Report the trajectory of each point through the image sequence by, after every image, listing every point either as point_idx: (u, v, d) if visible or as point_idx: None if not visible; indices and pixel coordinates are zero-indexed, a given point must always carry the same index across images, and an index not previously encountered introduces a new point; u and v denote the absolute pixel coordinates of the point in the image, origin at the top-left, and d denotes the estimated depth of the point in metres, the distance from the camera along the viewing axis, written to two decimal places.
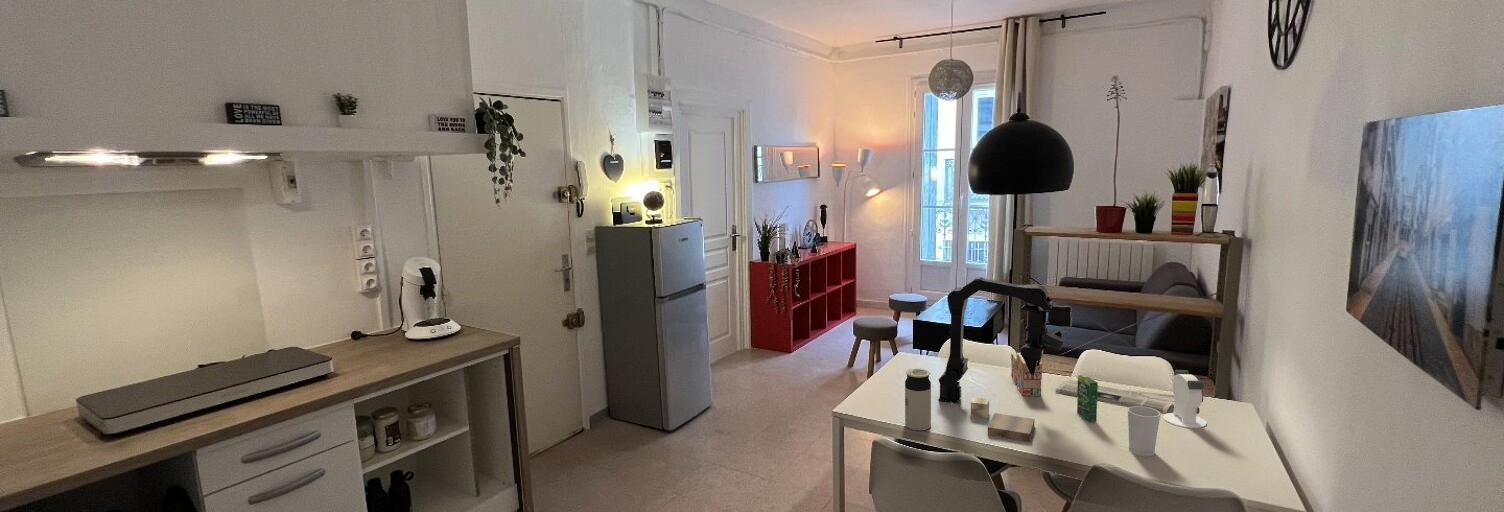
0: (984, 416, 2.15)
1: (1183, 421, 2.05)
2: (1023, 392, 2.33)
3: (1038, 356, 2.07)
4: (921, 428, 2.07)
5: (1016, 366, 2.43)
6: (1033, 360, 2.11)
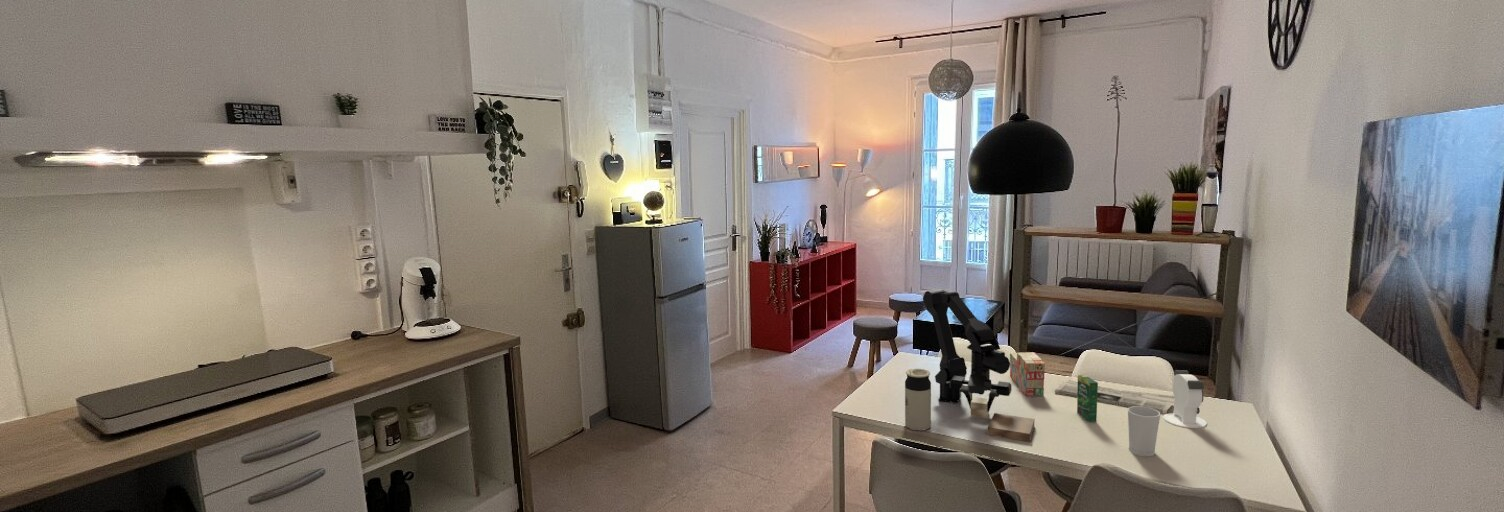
0: (984, 416, 2.15)
1: (1183, 421, 2.05)
2: (1026, 392, 2.33)
3: (949, 386, 2.19)
4: (921, 428, 2.07)
5: (1017, 366, 2.43)
6: None
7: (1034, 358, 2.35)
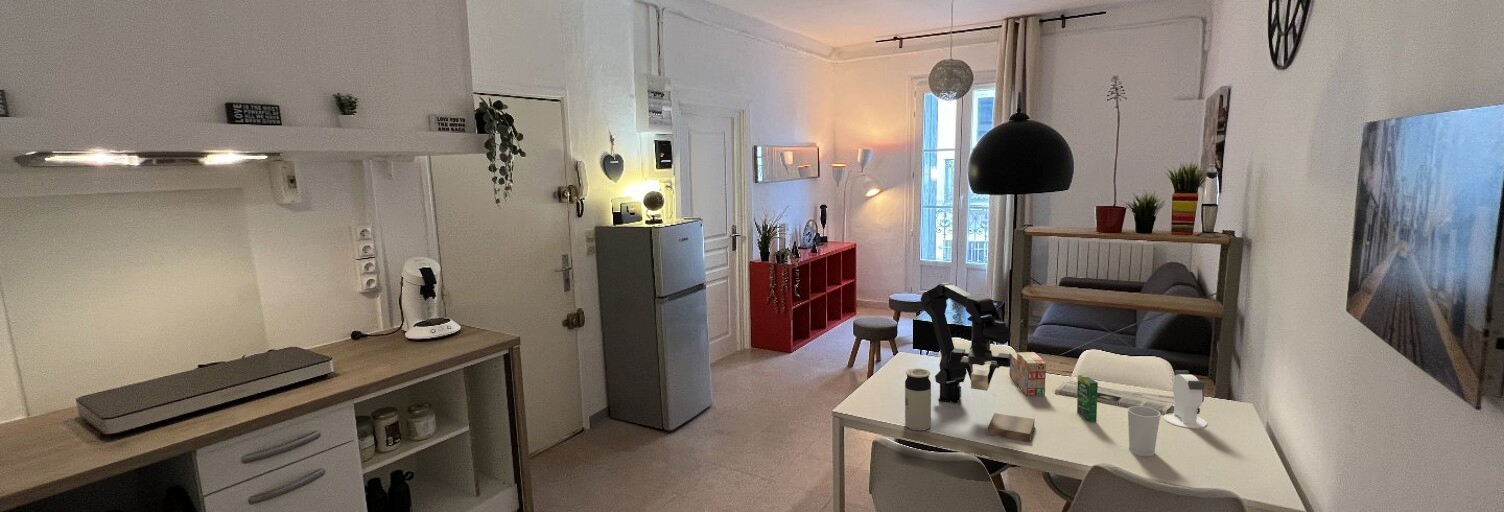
0: (985, 388, 2.13)
1: (1183, 421, 2.04)
2: (1027, 392, 2.33)
3: (949, 358, 2.18)
4: (921, 428, 2.07)
5: (1017, 366, 2.43)
6: None
7: (1035, 358, 2.35)
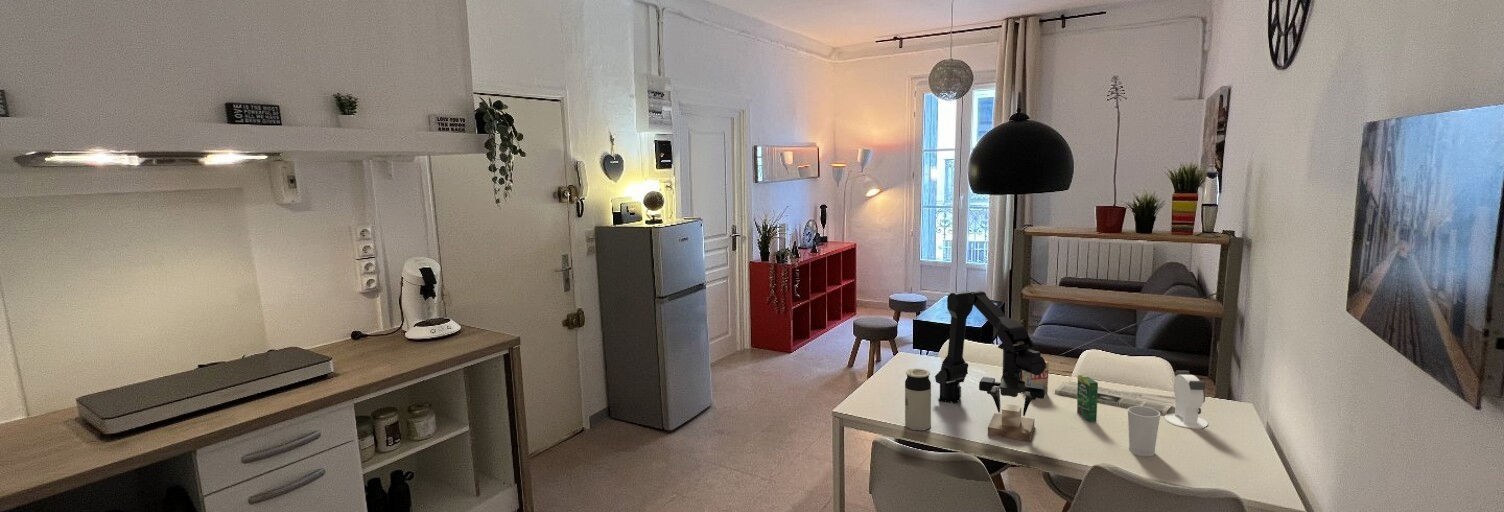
0: (1016, 424, 2.02)
1: (1184, 422, 2.04)
2: None
3: (979, 388, 2.06)
4: (921, 428, 2.07)
5: None
6: None
7: None
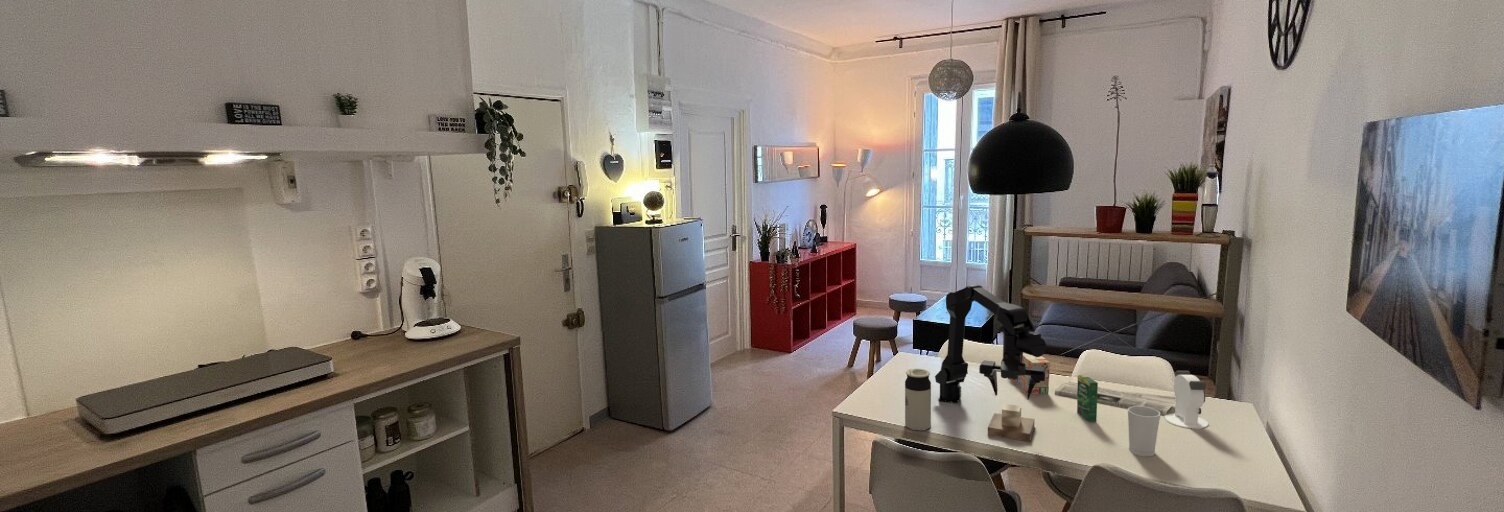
0: (1016, 424, 2.02)
1: (1185, 422, 2.04)
2: (1032, 391, 2.33)
3: (979, 371, 2.05)
4: (921, 428, 2.07)
5: None
6: None
7: (1037, 357, 2.36)
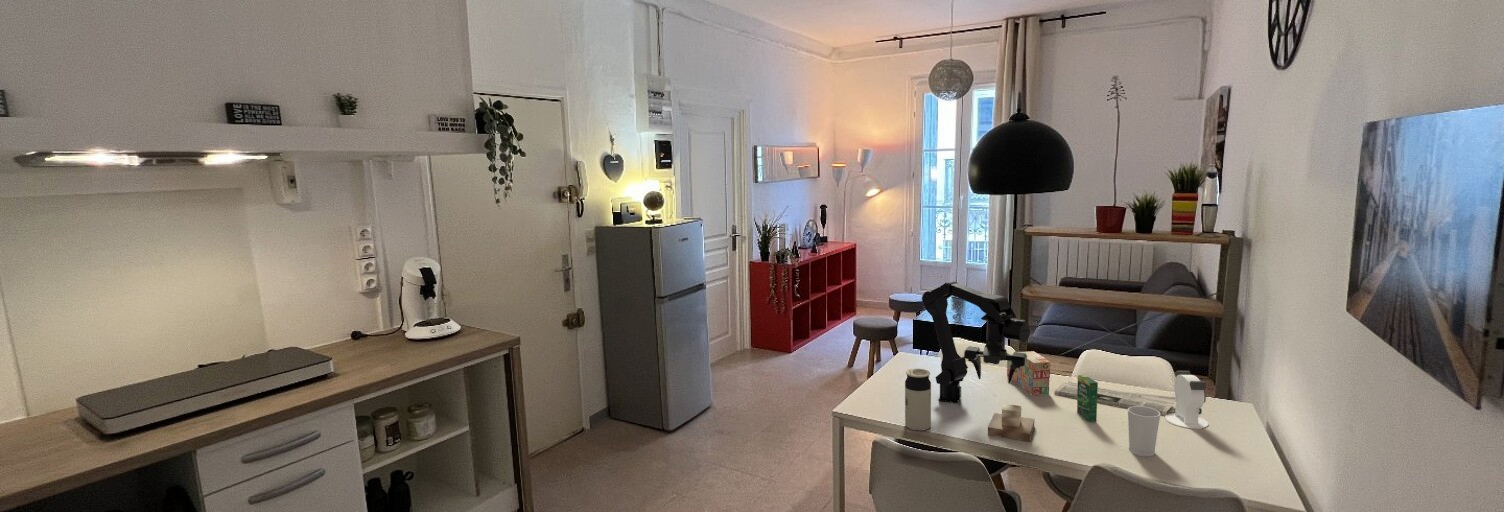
0: (1016, 424, 2.02)
1: (1185, 422, 2.04)
2: (1033, 391, 2.33)
3: (964, 356, 2.18)
4: (921, 428, 2.07)
5: None
6: None
7: (1038, 357, 2.36)
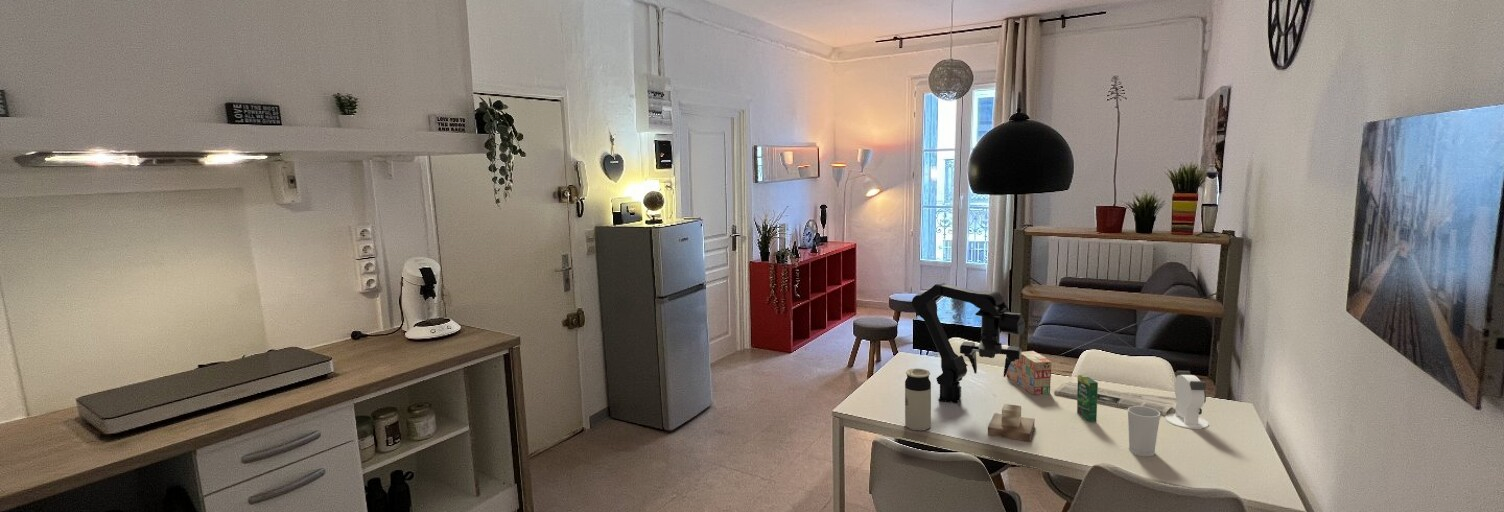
0: (1016, 424, 2.02)
1: (1185, 422, 2.04)
2: (1034, 391, 2.33)
3: (960, 351, 2.22)
4: (921, 428, 2.07)
5: (1018, 365, 2.44)
6: None
7: (1038, 357, 2.36)
